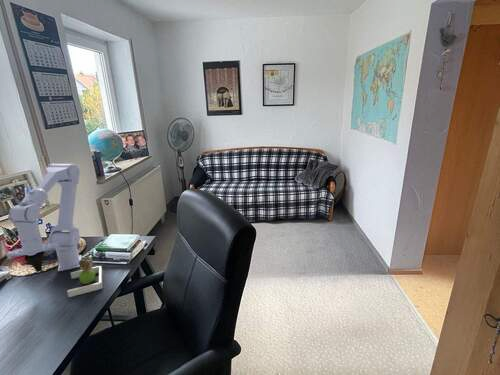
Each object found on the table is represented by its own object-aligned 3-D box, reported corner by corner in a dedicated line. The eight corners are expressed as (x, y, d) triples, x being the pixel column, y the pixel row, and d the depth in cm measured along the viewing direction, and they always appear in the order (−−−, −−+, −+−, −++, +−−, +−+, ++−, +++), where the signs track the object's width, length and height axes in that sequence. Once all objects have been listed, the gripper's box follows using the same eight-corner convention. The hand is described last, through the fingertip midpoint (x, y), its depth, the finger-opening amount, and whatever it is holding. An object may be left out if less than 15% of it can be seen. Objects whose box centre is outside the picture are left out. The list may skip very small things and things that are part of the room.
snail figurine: (91, 288, 102) (85, 261, 98) (77, 285, 103) (71, 258, 99) (101, 279, 107) (96, 253, 103) (88, 276, 108) (82, 251, 105)
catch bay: (72, 277, 108) (70, 272, 107) (102, 270, 112) (101, 265, 112) (68, 297, 97) (67, 291, 96) (102, 288, 102) (101, 282, 101)
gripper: (0, 247, 88) (11, 282, 92) (53, 237, 94) (61, 270, 98) (6, 237, 94) (16, 270, 98) (56, 229, 100) (63, 260, 104)
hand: (39, 270), depth 98 cm, fingers closed
